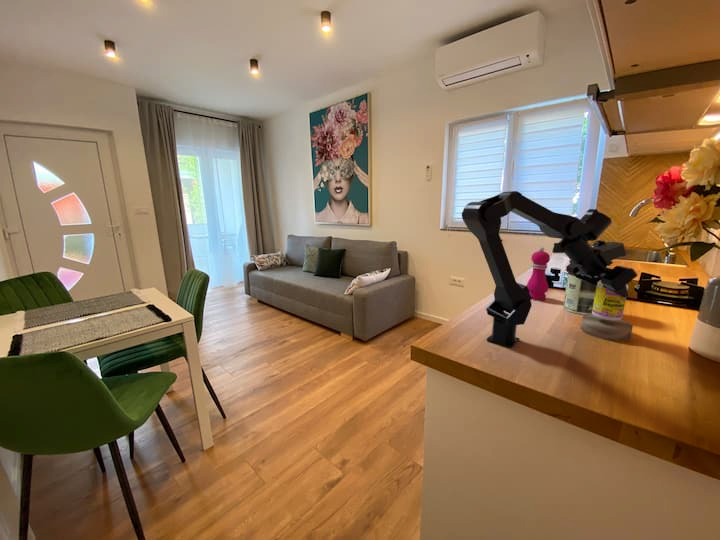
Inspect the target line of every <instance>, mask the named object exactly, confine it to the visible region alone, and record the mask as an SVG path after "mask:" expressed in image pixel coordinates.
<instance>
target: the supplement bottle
mask: <svg viewBox="0 0 720 540" xmlns="http://www.w3.org/2000/svg"><path fill="white" fill-rule="evenodd" d="M602 286H604V285H603V284H602V283H601V280H600V281H598V283H597V287H596V292H595V298H594V303H593V309H592V314H593V315H594V316H596V317H598V318H601V319H605V320H612V321H618V320H623V316H624V311H625V308H626V307H625V306H626V301H627V297H626V298H624V297H622V296H620V295H618V294H616V293H614V292H612V291H610V290H608V289H605V288H603V287H602ZM626 288H627V291H629V285H628V284H626Z"/></svg>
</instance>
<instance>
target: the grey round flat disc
mask: <svg viewBox="0 0 720 540" xmlns="http://www.w3.org/2000/svg"><path fill="white" fill-rule="evenodd" d="M580 324H581V325H580V329H581V331H582V332H583V333H584V334H587V335H589V336H591V337H594V338H596V339H600V340H601V339H602V340H605V341H614V342H628V341H630V340H631V337H632V332H633V325H632V324H631V323H630V322H628V321H626V320H623V319H621V320H618V321H612V320H605V319H601V318H598V317H596V316H594V315H582V318H581V323H580Z"/></svg>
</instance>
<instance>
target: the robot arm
mask: <svg viewBox="0 0 720 540" xmlns="http://www.w3.org/2000/svg"><path fill="white" fill-rule="evenodd" d="M510 212H511V213H512V214H515V215H517V216H519V217H521V218H523V219H525V220H526V221H529V222H531V224H532V223H533V224H534V225H536V226H537V227H538V228H539V230H540V231H541V232H542V233H543V234H544V235H545V236H546V237H549V238H550V239H551V238H552V239H553V238H554V239H560V240H559V242H555V243H553V247H552V253H553V254H565V256H566V257H568V259H569V261H568V262H569V263H568V264H567V265H566V267H565V272H567V274H568V273H569V274H570V275H572V276H576V278H578V279H581V280H583V281H585V282H587V283H590V284H592V285H594V286H596V287H597V283H598V281H600V280H601V283H602V284H603V285H604V286H602V287H603V288H605V289H608V290H610V291H612V292H614V293H616V294H618V295H620V296H622V297H624V298H626V299H627V298H628V296H629V292H628V291H629V290H628V291H627V288H626V284H627V285H628V284H629V283H630V282H631V281H633V280H634V279H636V278H637V277H638V273H637V271H636V270H635V269H634V268H632V267H628V266H624V265H616V266H614V267H613V268H610V266H611V265H612V264H613V260H615V259H618V258H621V257H625V256H627V255H628V254H627V250H626V247H625V243H623V242H618V241H606V242H605V240H600V239H599V237H600V236H601V235H602V234H603V233H604V232H606V230H607V229H608V228H609V227H610V226H611V224H612V219H611V217H609V216H608V215H606V214H604V213H602V212H600V211H598V208H596V209H595V208H590V209H588V210H587V211H586V212H585V214H584V215H583V216H582V217H581V218H579V217H577V216H573V215H569V214H563V213H559V212H554V211H552V210H550V209H549V208H547V207H546V206H543V205H541V204H539V203H537V202H536V201H534V200H532V199H531V198H528V197H526V196H524V195H523V194H522V193H521V192H519V191H517V190H515V191H514V190H513V191H503V192H501V193H499V194H497V195H494V196H492V197H488V198H486V199H483V200H480V201H471V202H468V203H467V204H466V205H465V206H464V208H463V210H462V212H461V219H462V221H463V223H464V224H465V226H466V227H467V230H468V231H469V232H471V234H472V235H474V237H475V238H476V239H478V242H479V244H480V248H481V250H482V252H483V256H484V258H485V261H486V263H487V266H488V269H489V271H490V272H489V273H490V274H491V277H492V279H493V282H494V284H495V289H494V292H493V296H494V299H493V300H492V301H491V302H490V303H489V304H488V306H487V307H486V308H485V311H486V313H487V315H488V316H490V317H492V319H493V320H492V330H491V335H489V336H488V337H487V338H486V341H487V342H490V343H494V344H497V345H500V346H504V347H506V348H510V349H511V348H513V347H515V346H516V344H517V343H519V342H520V340H521V338H519V337H516V335H517V326H519V325H521V326H522V325H525V322H526V320H527V319H528V316H529V313H530V311H531V309H532V301H533V300H532V299H533V298H532V297H531V296H530V294H529V289H528V287H527V285H525V284H523V283H518V282H517V281H516V278H515V275H514V272H513V269H512V267H511V264H510V261H509V257H508V255H507V252H506V249H505V247H504V244H503V241H502V238H501V236H500V229H501V227H502V218H504V217H506V216H507V215H508V214H510ZM598 239H599V240H598ZM592 241H593V246H592V245H591V244H590V243H589V242H592ZM576 273H577V274H578V275H577V274H576ZM601 276H603V277H601Z"/></svg>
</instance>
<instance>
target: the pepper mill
mask: <svg viewBox="0 0 720 540" xmlns="http://www.w3.org/2000/svg"><path fill="white" fill-rule="evenodd" d="M530 259H531V262H532V264H531V265H532V266H531V267H532V274H531V276H530V278H529V280H528V281H527V284H526V286H527V287H528V289H529V294H530V296H531V297H532V298H533V299H534V300H533V301H537V300H543V301H545V300H546V298H547V294H545V293H547V292H548V291H549V284H548V281H547V277H546V269H548V263H549V262H550V261H551V256H550V254H549V253H548V252H546V251H545V248H544V247H543V246H540V247H539V248H538V251H535V252H534V253H532V255H531V258H530Z"/></svg>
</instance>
